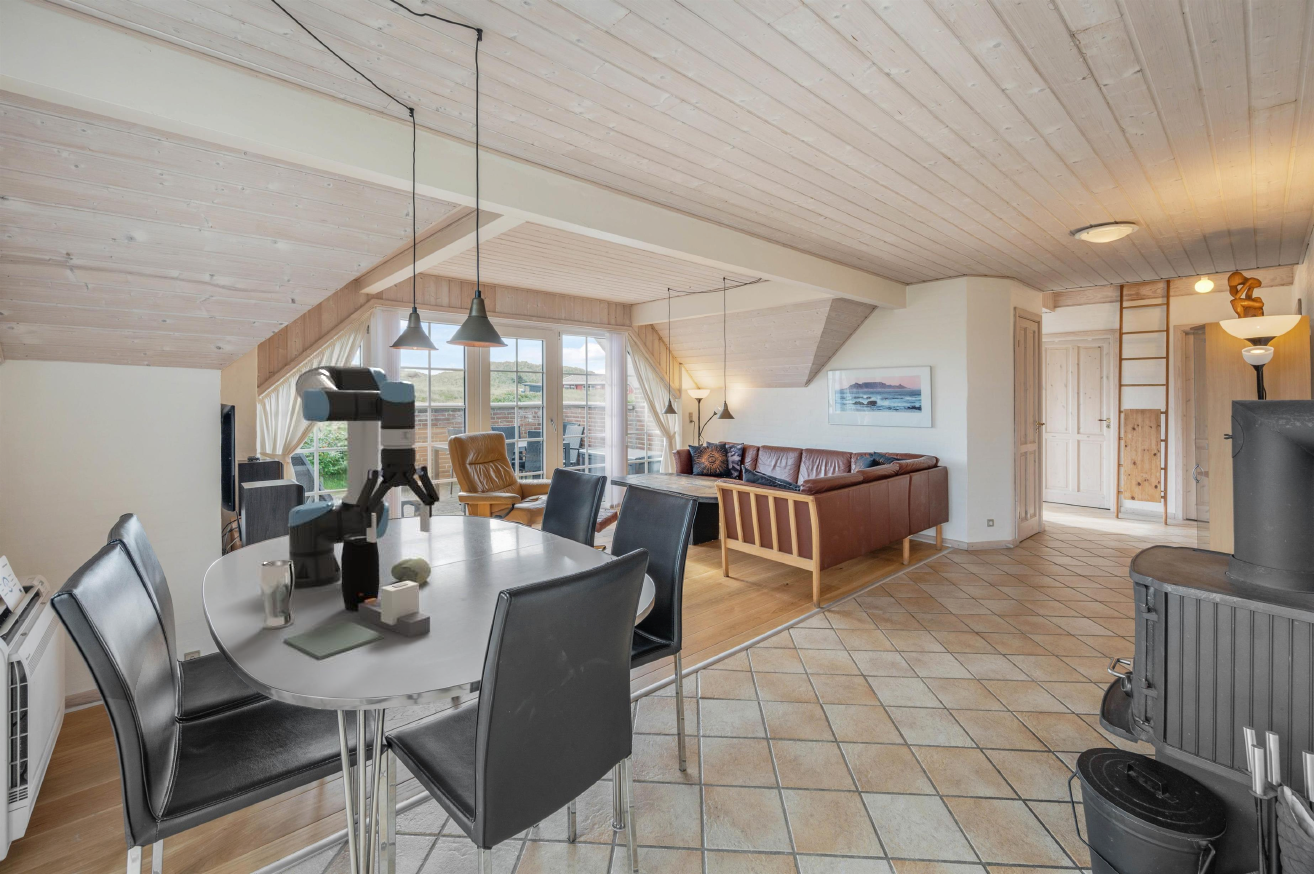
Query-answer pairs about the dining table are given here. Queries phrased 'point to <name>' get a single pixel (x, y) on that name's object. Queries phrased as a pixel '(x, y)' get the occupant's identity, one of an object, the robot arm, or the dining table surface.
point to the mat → (333, 639)
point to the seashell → (412, 570)
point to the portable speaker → (359, 570)
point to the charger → (399, 601)
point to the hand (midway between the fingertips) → (399, 536)
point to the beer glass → (277, 592)
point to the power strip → (405, 624)
